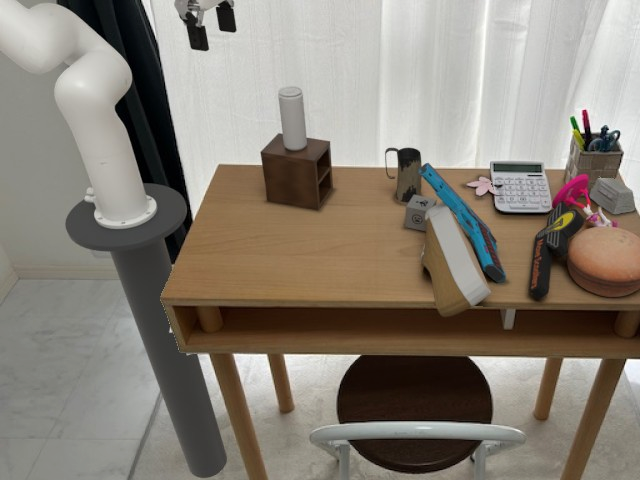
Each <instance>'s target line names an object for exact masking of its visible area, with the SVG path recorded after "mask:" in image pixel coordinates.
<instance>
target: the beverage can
mask: <svg viewBox="0 0 640 480" xmlns="http://www.w3.org/2000/svg"><path fill="white" fill-rule="evenodd" d="M277 97H278V105H279V115H280V124H281V131H282V134H283V141H284V146H285V147H286V148H287V149H288V150H291V151H299V150H302V149H304V148H305V147H306V145H307V138H308V137H307V127H306V117H305V105H304V104H305V103H304V94H303V90H302V88H301V87H298V86H295V85H294V86H293V85H290V86H289V85H288V86H284V87H281V88H279V89H278V94H277Z"/></svg>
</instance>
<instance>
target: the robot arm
mask: <svg viewBox="0 0 640 480" xmlns="http://www.w3.org/2000/svg"><path fill="white" fill-rule="evenodd" d="M173 6H174V8H175V9H176V11H177V13H178V16H179V19H180V20H181V21H182V23H183V25H184V26H186V31H187V37H188V42H189V46H190V49H191V50H194V51H200V52H208V51H209V50H210V46H209V40H208V35H207V28H206V25H204V24H203V21H204V16H205V12H207V11H209V10H210V9H213V8H214V7H215V12H216V17H217V25H218V30H219V31H220V32H223V33H233V34H235V33H236V32H237V24H236V23H237V22H236V17H235V11H234V9H235V1H234V0H174V2H173ZM193 12H195V13H196V15H194V14H193ZM0 52H2V54H4V55H5V56H6V57H7V58H9V59H10V60H11V61H12V62H14V63H15V64H16V65H17V66H19V68H22V69H23V70H25V71H26V72H28V73H31V74H34V75H45V74H47V73H49V72H51V71H53V70H54V69H56V68H57V67H58V66H59V65H61V64H62V63H65V64H66V65H67V66H68V67H67V68H66V69H65V70H64V71H63V72H62V73H60V75H59V77H58V78H57V80H56V82H55V84H54V89H53V96H54V100H55V103H56V106H57V107H58V110H59V112H60V113H61V114H62V116H63V118H64V120H65V121H66V123H67V125H68V128H69V129H70V131H71V133H72V135H73V139H74V141H75V142H76V143H75V144H76V147H77V149H78V152H79V154H80V157H81V160H82V162H83V165H84V169H85V171H86V173H87V177H88V178H89V182H90V184H91V187H90V186H89V187H88V188H87V189H86V192H85V193H86V195H85V196H84V199H85V201H86V202H90V203H94V204H95V206H96V210H95V212H94V217H95V219H96V222H97V223H98V224H99V225H101V226H103V227H105V228H110V229H127V228H132V227H136V226H138V225H141V224H143V223H145V222H147V221H148V220H150V219H151V218H152V217H153V216H154V215H155V214H156V212H157V204H156V201H155V200H154V199H153V198H152V197H150V196H148V195H146V193H145V190H144V186H143V183H144V182H143V180H142V177H141V173H140V170H139V166H138V163H137V160H136V155H135V153H134V149H133V146H132V142H131V140H130V136H129V133H128V130H127V128H126V126H125V123H124V122H123V121H122V120H121V118H120V117H119V116H118V113H117V112H116V105H117V104H118V103H119V101H120V100H121V99H122V98H123V97H124V96H125V95H126V94H127V92H128V91H129V89H130V88H131V85H132V82H133V73H132V69H131V68H130V66H129V64H128V62H127V61H126V59H125V58H124V57H123V56H122V55H121V53H119V52H118V51H117V50H116V49H115V48H114V47H113V46H112V45H111V44H110V43H109V42H107V41H106V40H105V39H104V38H103V37H102V36H101V35H100V34H98V33H97V31H95V30H94V29H93V28H92V27H91V26H89V24H88V23H86V22H85V21H84V20H83V19H81V18H80V17H79V16H78V15H77V14H76V13H74V11H72V10H70V9H68V8H67V7H65V6H63V5H60V4H58V3H53V2H41V3H37V4H35V5H33V6H32V7H30V8H28V7H26V6H25V5H23V4H22V3H20V1H18V0H0Z"/></svg>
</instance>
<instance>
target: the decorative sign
mask: <svg viewBox="0 0 640 480" xmlns="http://www.w3.org/2000/svg"><path fill="white" fill-rule="evenodd" d="M584 224H585V218H584V217H583V215H582V214H581V213H580V211H578V209H576V208H571V209H570V206H567V205H566V204H565V202H564V201H561V202H559V203H558V204H557V205H556V207H555V209H554V208H553V209H552V211H551V213H550V215H549V216H548V217H547V219H546V226H545V227H544V228H541V230H540V231H538V232H537V234H536V235H535V236H534V241H533V250H532V258H531V267H530V275H529V282H528V283H529V284H528V292H529V293H530V294H531V295H532V296H533V297H534V299H535V300H541V299H542V298H544V297H546V296H547V295H548V294H549V292H550V281H551V268H552V259H553V258H552V256H553V254H554V255H556V256H557V257H559V258H563V257H565V256H567V251H568V246H569V239H571V238H572V237H573V236H576V235H577V234H578V233H579V231H580V230H581V229H582V228H583V226H584Z"/></svg>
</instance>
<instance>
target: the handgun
mask: <svg viewBox="0 0 640 480" xmlns="http://www.w3.org/2000/svg"><path fill="white" fill-rule="evenodd" d="M419 173H420V174H421V176H422V178H423V179H424V180H425V181H426V182H427V183H428V185H429V186H430V187H431V188H432V190H433V191H434V193H435V195H436V196H437V197H438V198H439V199H440V200H441V202H442V201H443V202H444V203H445V204H446V205H447V206H448V207H449V209H450V210H451V211H452V213H453V214H454V216H455V217H456V219H457V220H458V222H459V223H460V225H461V227H462V228H463V230H464V231H465V232H466V234H467V235H468V238H469V240H470V242H471V243H472V244H473V246H474V247H473V248H474V250H475V252H476V254H477V257H478V261H479V262H480V263H479V264H480V266H481V269H482V271H484V272H485V273H486V275H487V276H489V277H490V278H491V280H494V281H495V282H496V283H503V282H504V281H506V280H507V275H506V272H505V269H504V268H503V265H502V263H501V261H500V260H501V259H500V258H499V256H498V253H497V250H498V245H497V242H498V241H497V239H496V238H495V237H494V235H493V233H492V231H491V228H490V227H489V226H488V225H487V224H486V223H485V222H484V221H483V219H481V218H480V217H479V216H478V214H477V213H476V212H475V211H474V209H472V208H471V207H470V206H469V204H467V202H466V201H465V200H464V199H463V198H462V197H461V196H460V195H459V194H458V193H457V191H456V190H454V188H452V186H451V185H450V184H449V183H448V182H447V181H446V180H445V179H444V178H443V177H442V175H440V174H439V172H438V171H437V170H436V169H435V168H434V167H433V166H432V165H431V163H430V162H426V163H424V164H422V167H421V168H420V169H419Z"/></svg>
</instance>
